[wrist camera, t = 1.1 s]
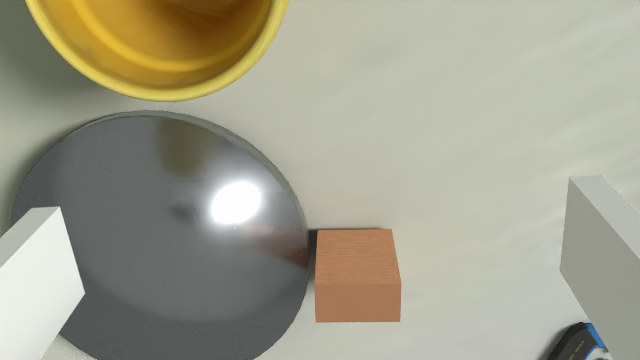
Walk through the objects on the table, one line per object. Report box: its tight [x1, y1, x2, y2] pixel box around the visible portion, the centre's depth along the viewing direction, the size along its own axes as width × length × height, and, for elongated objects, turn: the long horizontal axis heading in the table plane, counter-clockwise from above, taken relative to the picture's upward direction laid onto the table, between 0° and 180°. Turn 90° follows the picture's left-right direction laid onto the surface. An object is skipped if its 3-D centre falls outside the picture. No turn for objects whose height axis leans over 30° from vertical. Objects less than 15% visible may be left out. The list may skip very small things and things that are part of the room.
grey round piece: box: [10, 110, 401, 360], centre depth 34 cm, size 18×23×6 cm
